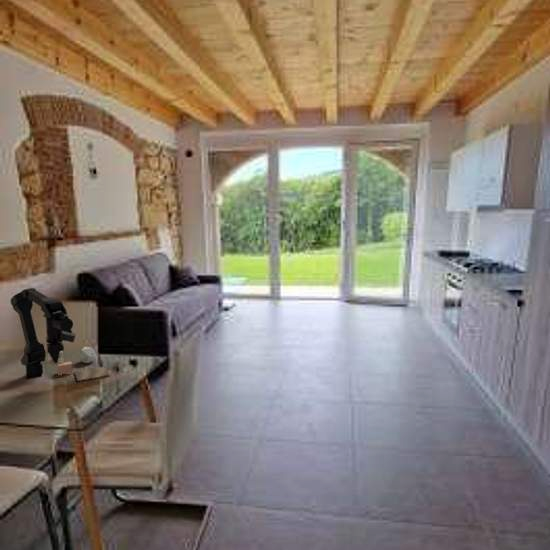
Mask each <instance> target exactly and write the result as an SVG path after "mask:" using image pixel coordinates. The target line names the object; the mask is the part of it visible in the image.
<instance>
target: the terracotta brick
mask: <svg viewBox="0 0 550 550" xmlns="http://www.w3.org/2000/svg"><path fill="white" fill-rule="evenodd" d="M57 373H58V374H57V375H58V376H59V375H61V376H63V375H62V374H67V375H69V374H68V373H72V374H73V363H72V361H64V364H59V365H57Z"/></svg>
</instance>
